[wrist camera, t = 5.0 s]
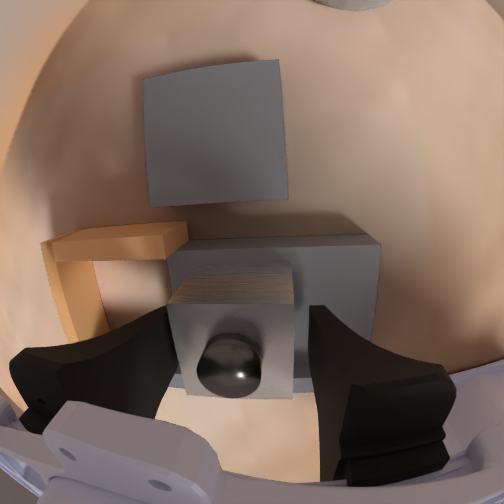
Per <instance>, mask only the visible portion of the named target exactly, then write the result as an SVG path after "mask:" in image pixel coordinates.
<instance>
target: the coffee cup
mask: <svg viewBox="0 0 504 504" xmlns="http://www.w3.org/2000/svg"><path fill="white" fill-rule="evenodd" d="M315 1H317V2H319V3H322V4H324V5H326V6H329V7H333V8H337V9H341V10H349V11H364V10H370V9H375V8H379V7H382V6H385V5H387V4H388V3H389V2H391V1H392V0H315Z"/></svg>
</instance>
